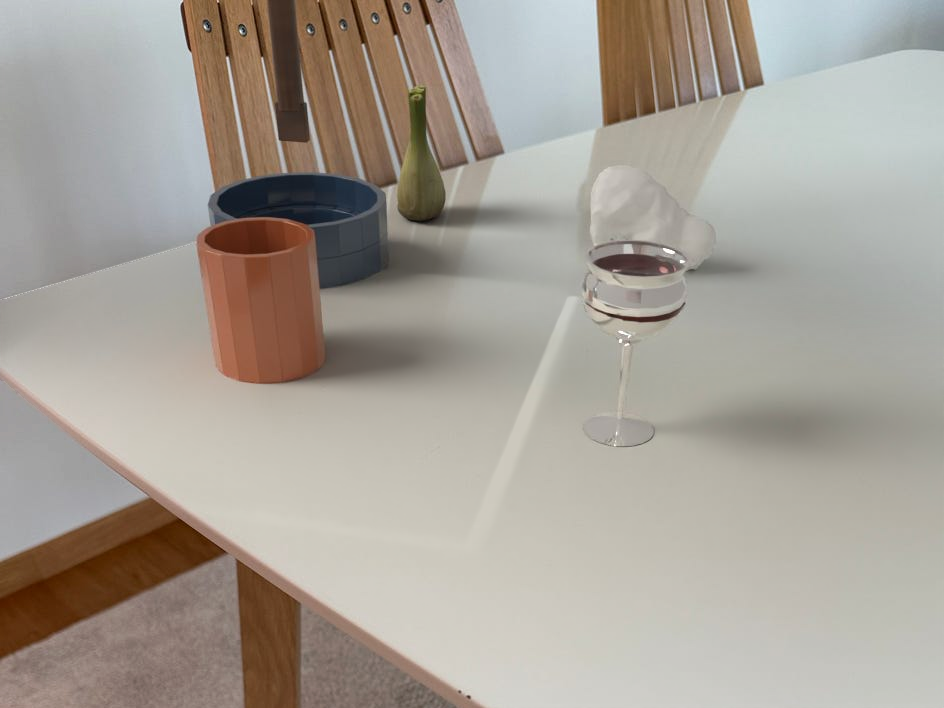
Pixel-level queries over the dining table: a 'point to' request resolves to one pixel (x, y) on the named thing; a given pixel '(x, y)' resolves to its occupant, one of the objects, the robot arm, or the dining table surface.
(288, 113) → the stirring stick
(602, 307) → the wineglass
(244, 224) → the pot
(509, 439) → the dining table surface
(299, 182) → the bowl
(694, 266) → the lumpy white blob
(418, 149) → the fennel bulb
